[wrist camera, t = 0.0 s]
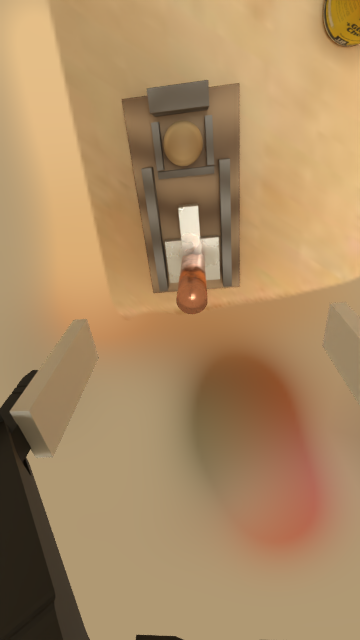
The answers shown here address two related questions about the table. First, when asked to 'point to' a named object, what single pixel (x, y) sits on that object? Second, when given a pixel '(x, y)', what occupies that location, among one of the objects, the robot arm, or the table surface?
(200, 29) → the table surface
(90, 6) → the table surface
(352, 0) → the pill bottle
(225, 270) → the base
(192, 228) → the lever handle
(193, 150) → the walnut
